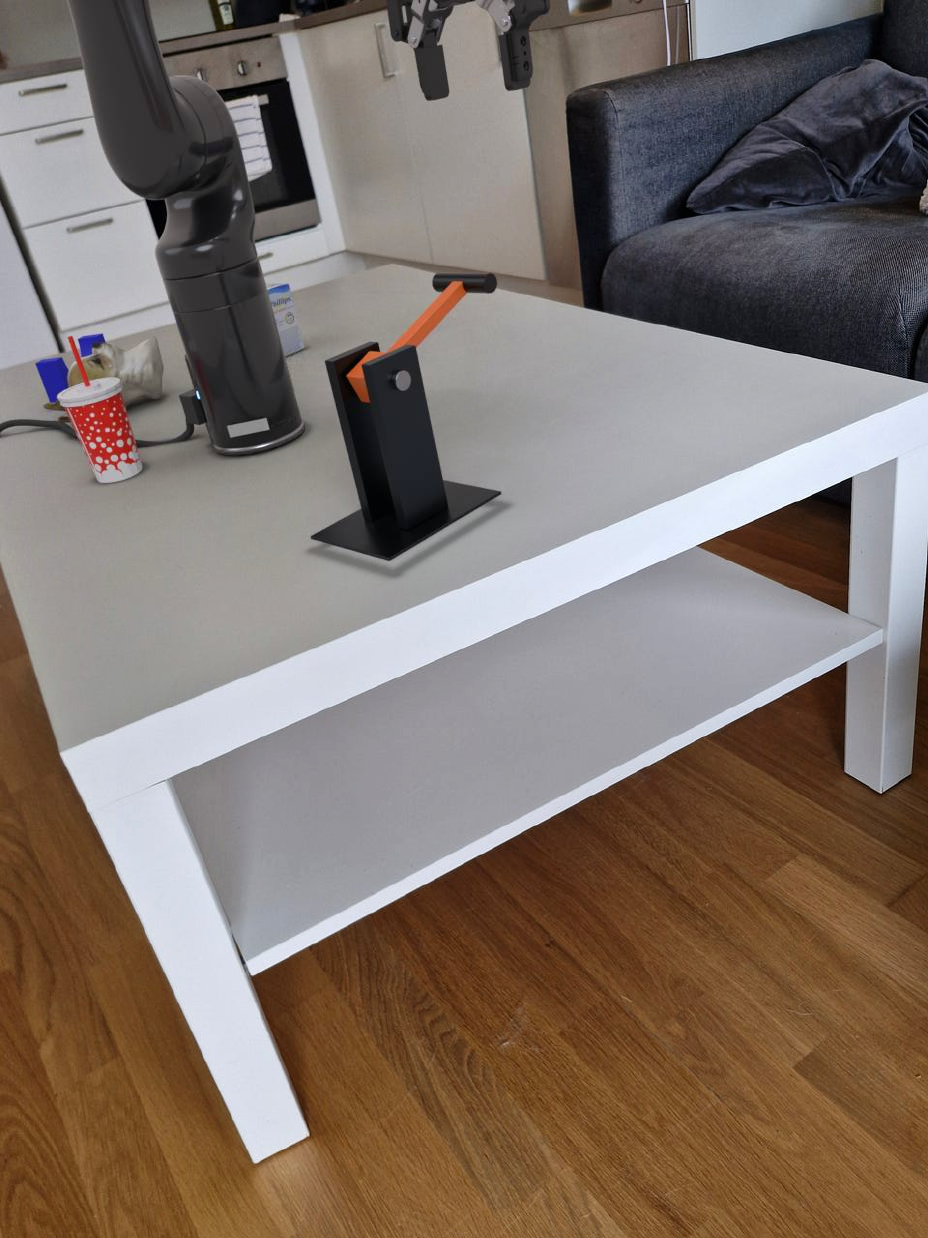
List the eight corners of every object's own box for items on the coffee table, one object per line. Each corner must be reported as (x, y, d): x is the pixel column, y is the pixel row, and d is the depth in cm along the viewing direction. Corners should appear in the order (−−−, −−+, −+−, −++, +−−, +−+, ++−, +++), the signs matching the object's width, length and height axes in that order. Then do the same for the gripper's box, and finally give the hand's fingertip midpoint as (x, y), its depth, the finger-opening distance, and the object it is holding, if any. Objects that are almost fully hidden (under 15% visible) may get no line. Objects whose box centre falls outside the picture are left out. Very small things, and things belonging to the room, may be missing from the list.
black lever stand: (424, 489, 86) (388, 324, 79) (504, 506, 80) (473, 329, 73) (314, 551, 79) (265, 376, 73) (392, 574, 73) (347, 386, 67)
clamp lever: (450, 289, 81) (437, 263, 79) (502, 290, 77) (490, 263, 76) (346, 399, 76) (330, 373, 74) (396, 406, 72) (381, 379, 71)
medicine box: (243, 356, 139) (225, 291, 135) (268, 346, 142) (251, 281, 137) (281, 359, 134) (263, 291, 130) (306, 348, 137) (289, 281, 132)
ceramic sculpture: (161, 327, 120) (36, 373, 115) (189, 397, 125) (69, 444, 119) (139, 317, 129) (21, 360, 124) (165, 383, 133) (52, 427, 128)
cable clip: (89, 380, 143) (73, 337, 140) (117, 376, 142) (102, 333, 139) (42, 410, 133) (24, 364, 130) (73, 406, 132) (55, 360, 129)
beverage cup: (161, 465, 104) (114, 327, 98) (108, 489, 101) (55, 348, 94) (130, 458, 108) (83, 325, 102) (79, 481, 105) (25, 345, 98)
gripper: (334, -137, 75) (380, 110, 82) (478, -192, 65) (514, 93, 73) (408, -141, 79) (445, 94, 87) (553, -193, 70) (579, 76, 77)
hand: (476, 94), depth 80 cm, fingers open, 8 cm apart
